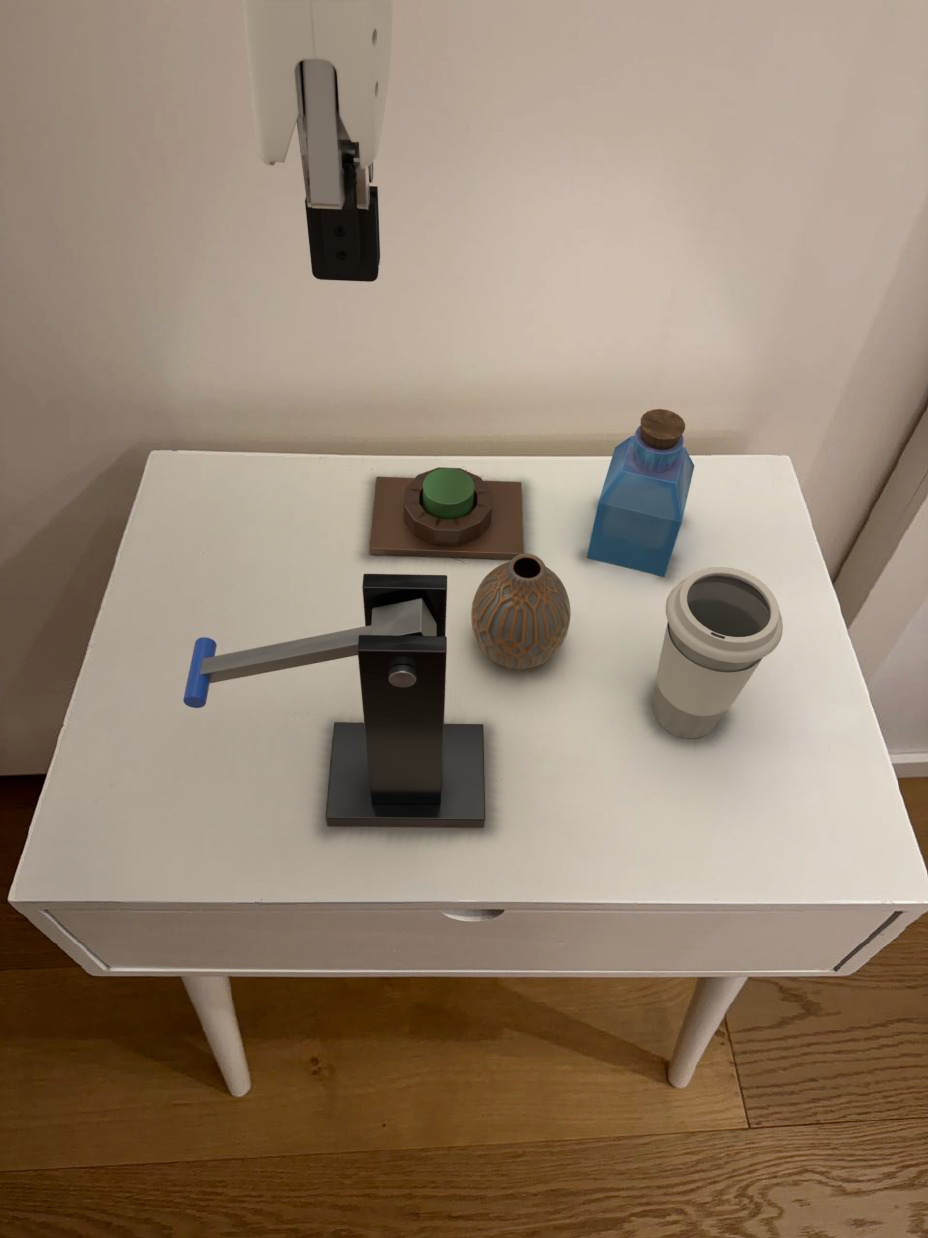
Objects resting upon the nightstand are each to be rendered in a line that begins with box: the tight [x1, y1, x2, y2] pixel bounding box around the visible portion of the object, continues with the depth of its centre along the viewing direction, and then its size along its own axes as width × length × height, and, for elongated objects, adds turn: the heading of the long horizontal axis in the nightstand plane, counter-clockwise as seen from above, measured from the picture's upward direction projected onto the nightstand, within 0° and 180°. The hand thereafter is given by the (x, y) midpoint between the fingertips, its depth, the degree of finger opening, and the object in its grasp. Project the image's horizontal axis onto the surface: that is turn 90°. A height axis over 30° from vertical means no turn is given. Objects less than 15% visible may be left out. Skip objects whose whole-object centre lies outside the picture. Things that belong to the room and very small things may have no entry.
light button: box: [423, 467, 474, 519], centre depth 74 cm, size 4×4×2 cm
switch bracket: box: [325, 573, 486, 828], centre depth 56 cm, size 10×7×18 cm
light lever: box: [182, 598, 437, 709], centre depth 51 cm, size 14×4×2 cm, turn 91°
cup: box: [652, 566, 784, 739], centre depth 62 cm, size 7×7×12 cm
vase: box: [470, 553, 572, 670], centre depth 66 cm, size 7×7×9 cm
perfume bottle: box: [586, 408, 695, 578], centre depth 72 cm, size 6×6×12 cm
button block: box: [368, 466, 525, 560], centre depth 76 cm, size 12×8×2 cm, turn 89°
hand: (346, 270), depth 47 cm, fingers closed
